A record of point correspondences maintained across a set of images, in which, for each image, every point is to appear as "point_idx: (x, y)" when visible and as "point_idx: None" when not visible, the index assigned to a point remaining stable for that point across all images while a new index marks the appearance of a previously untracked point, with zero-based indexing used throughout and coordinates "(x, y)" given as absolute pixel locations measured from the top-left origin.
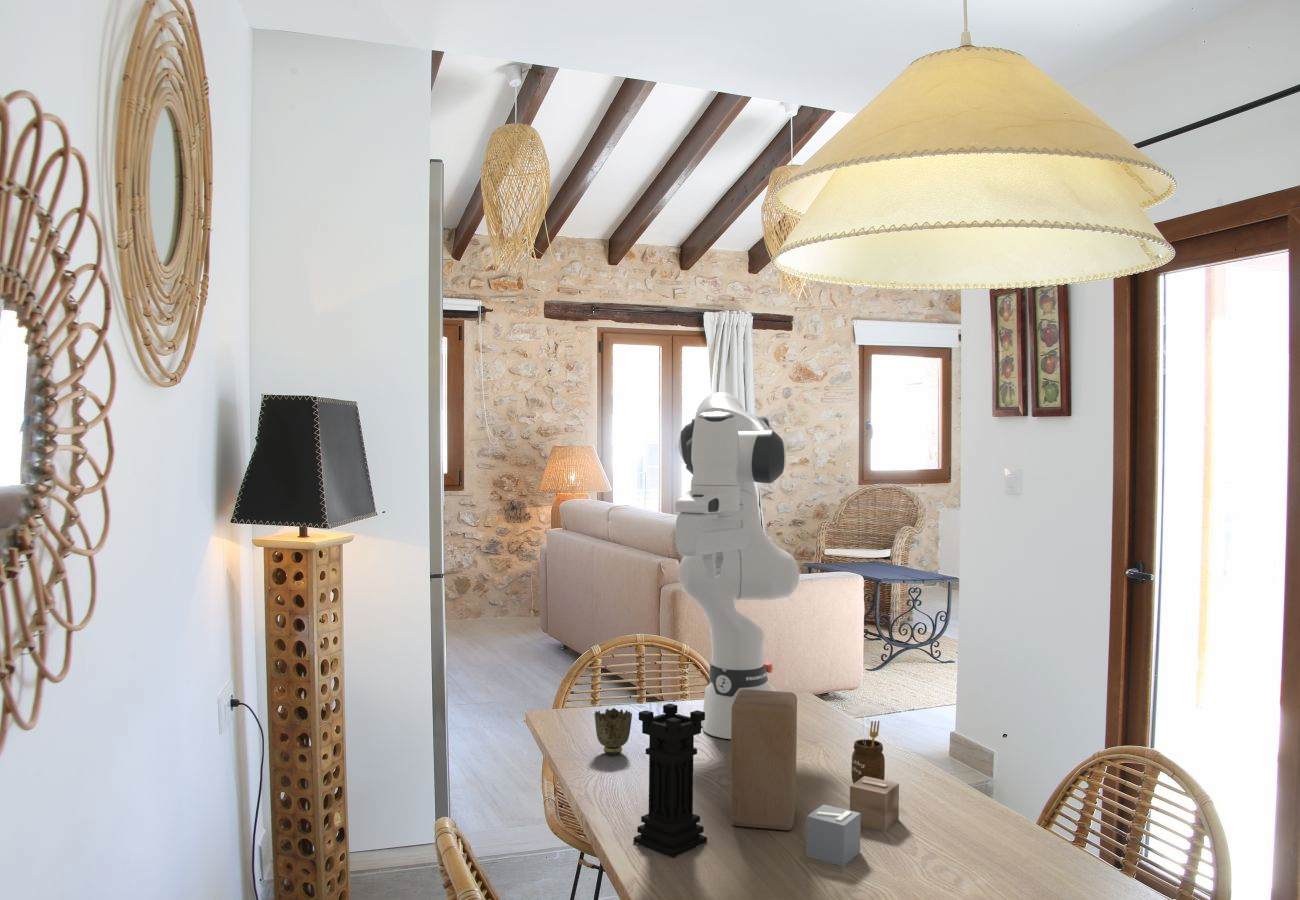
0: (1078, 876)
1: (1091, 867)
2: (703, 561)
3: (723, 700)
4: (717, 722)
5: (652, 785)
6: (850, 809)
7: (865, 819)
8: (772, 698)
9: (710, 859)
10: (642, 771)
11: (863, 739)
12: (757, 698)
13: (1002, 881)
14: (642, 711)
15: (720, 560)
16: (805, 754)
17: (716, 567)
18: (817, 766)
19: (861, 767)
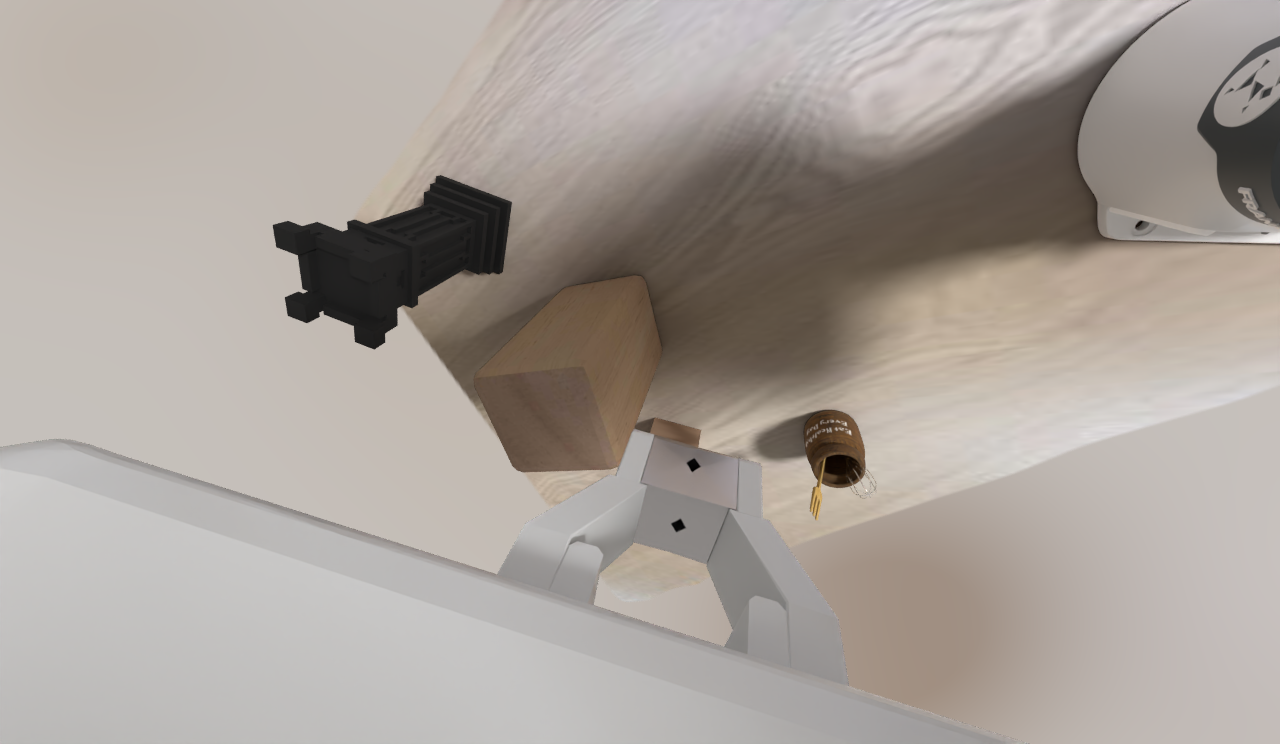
0: (623, 577)
1: (647, 588)
2: (554, 508)
3: (1204, 88)
4: (1148, 70)
5: (402, 219)
6: (651, 428)
7: None
8: (540, 440)
9: (463, 291)
10: (748, 4)
11: (861, 463)
12: (522, 416)
13: None
14: (282, 230)
15: (741, 613)
16: (973, 321)
17: (682, 538)
18: (893, 352)
19: (807, 440)
